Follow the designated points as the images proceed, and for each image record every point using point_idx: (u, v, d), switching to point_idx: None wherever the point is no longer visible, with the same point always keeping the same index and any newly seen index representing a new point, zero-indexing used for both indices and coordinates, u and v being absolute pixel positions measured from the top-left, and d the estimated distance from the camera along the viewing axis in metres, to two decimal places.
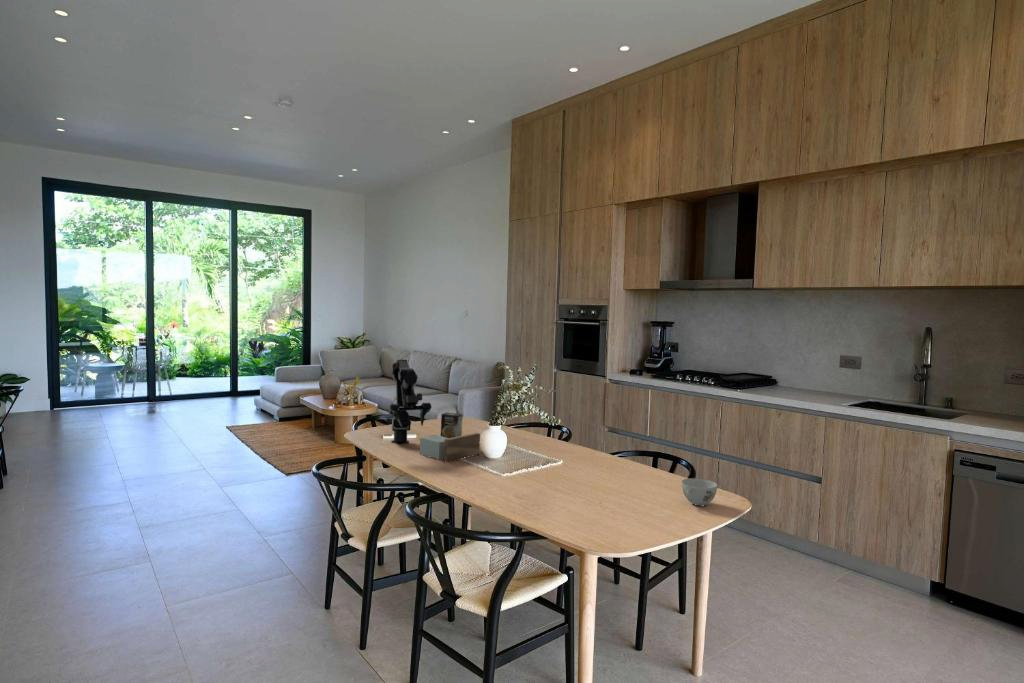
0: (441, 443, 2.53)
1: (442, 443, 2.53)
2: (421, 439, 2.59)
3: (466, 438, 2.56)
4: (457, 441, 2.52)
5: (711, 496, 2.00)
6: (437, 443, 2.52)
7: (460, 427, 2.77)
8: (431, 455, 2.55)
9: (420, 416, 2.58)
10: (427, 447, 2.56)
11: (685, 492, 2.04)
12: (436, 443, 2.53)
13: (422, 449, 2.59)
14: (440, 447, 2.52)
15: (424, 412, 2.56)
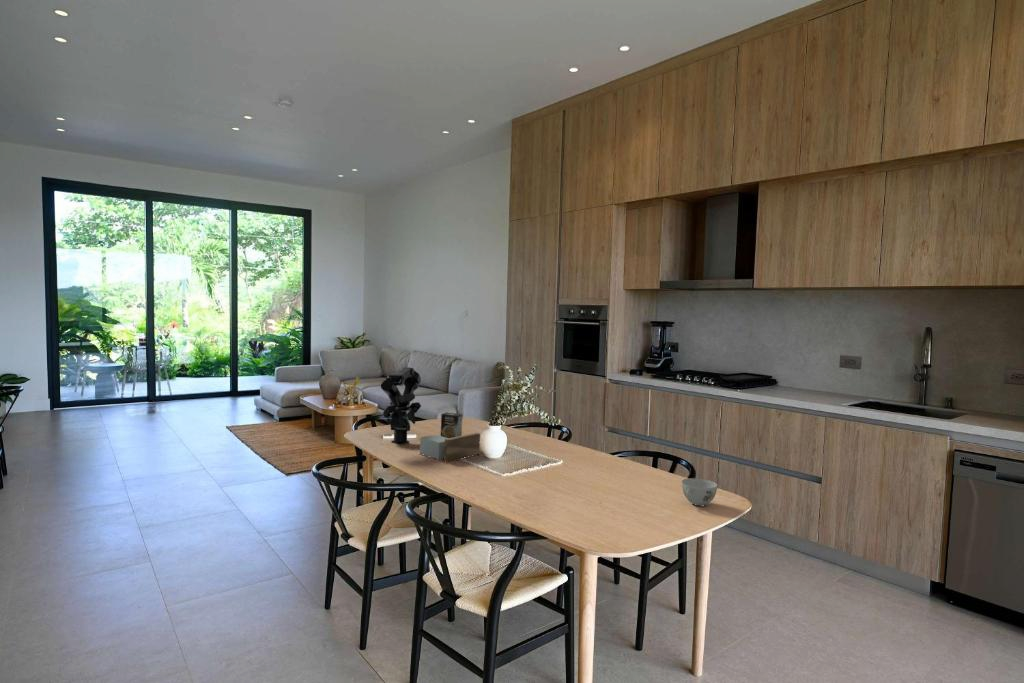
0: (441, 443, 2.53)
1: (442, 443, 2.53)
2: (421, 439, 2.60)
3: (466, 438, 2.56)
4: (457, 441, 2.52)
5: (711, 496, 2.00)
6: (437, 443, 2.52)
7: (460, 427, 2.77)
8: (431, 455, 2.55)
9: (408, 416, 2.66)
10: (427, 447, 2.57)
11: (685, 492, 2.04)
12: (436, 443, 2.53)
13: (422, 449, 2.59)
14: (439, 447, 2.52)
15: (413, 411, 2.65)
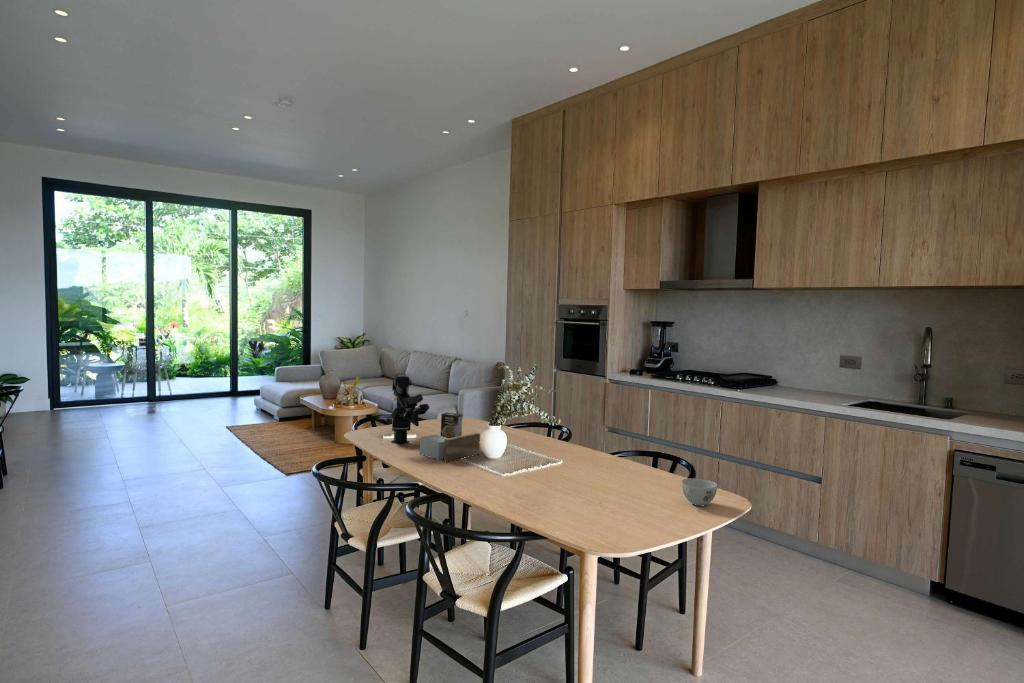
0: (440, 443, 2.52)
1: (441, 443, 2.53)
2: (421, 439, 2.60)
3: (466, 438, 2.56)
4: (457, 441, 2.52)
5: (711, 496, 2.00)
6: (436, 443, 2.52)
7: (460, 427, 2.77)
8: (431, 455, 2.55)
9: None
10: (427, 447, 2.57)
11: (685, 492, 2.04)
12: (435, 443, 2.53)
13: (422, 449, 2.59)
14: (439, 447, 2.52)
15: (417, 413, 2.67)
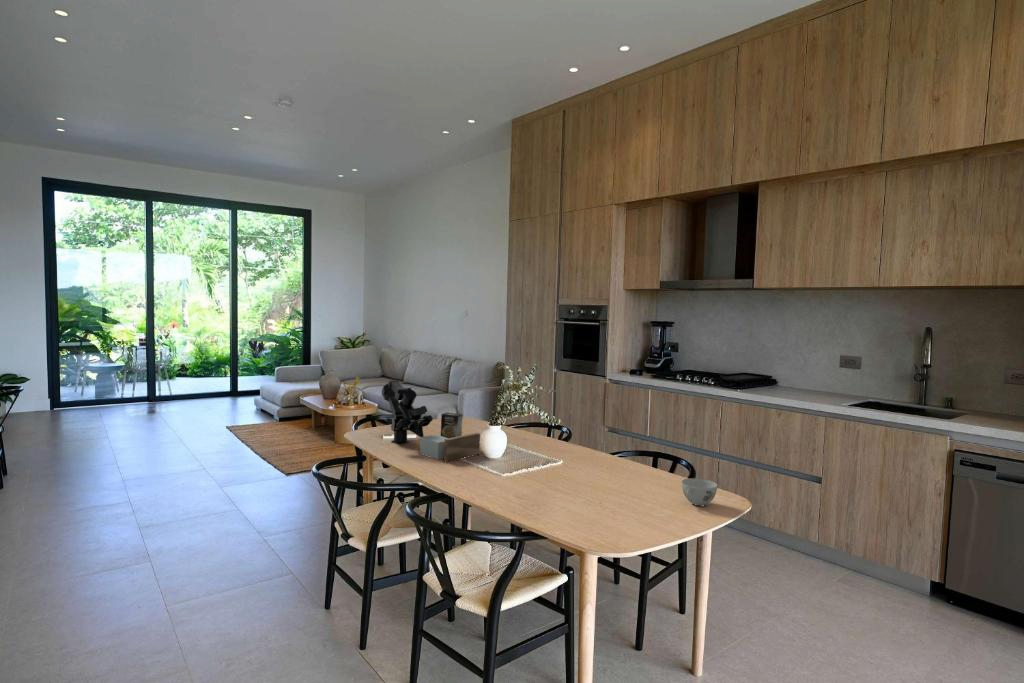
0: (440, 443, 2.52)
1: (441, 443, 2.53)
2: (421, 439, 2.60)
3: (466, 438, 2.56)
4: (457, 441, 2.52)
5: (711, 496, 2.00)
6: (436, 443, 2.52)
7: (460, 427, 2.77)
8: (430, 455, 2.55)
9: None
10: (427, 447, 2.57)
11: (685, 492, 2.04)
12: (435, 443, 2.53)
13: (422, 449, 2.60)
14: (439, 447, 2.52)
15: (421, 425, 2.68)
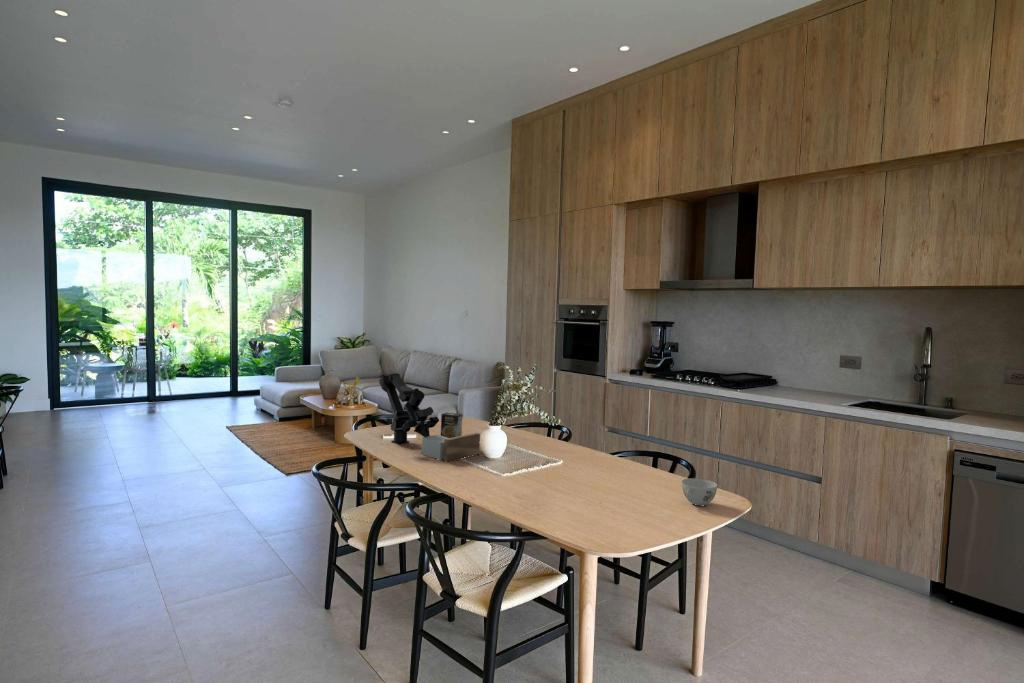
0: (442, 443, 2.52)
1: (443, 443, 2.52)
2: (423, 439, 2.59)
3: (466, 438, 2.56)
4: (457, 441, 2.52)
5: (711, 496, 2.00)
6: (438, 443, 2.51)
7: (460, 427, 2.77)
8: (433, 455, 2.54)
9: None
10: (429, 447, 2.56)
11: (685, 492, 2.04)
12: (437, 443, 2.52)
13: (424, 449, 2.59)
14: (441, 447, 2.51)
15: (428, 426, 2.65)
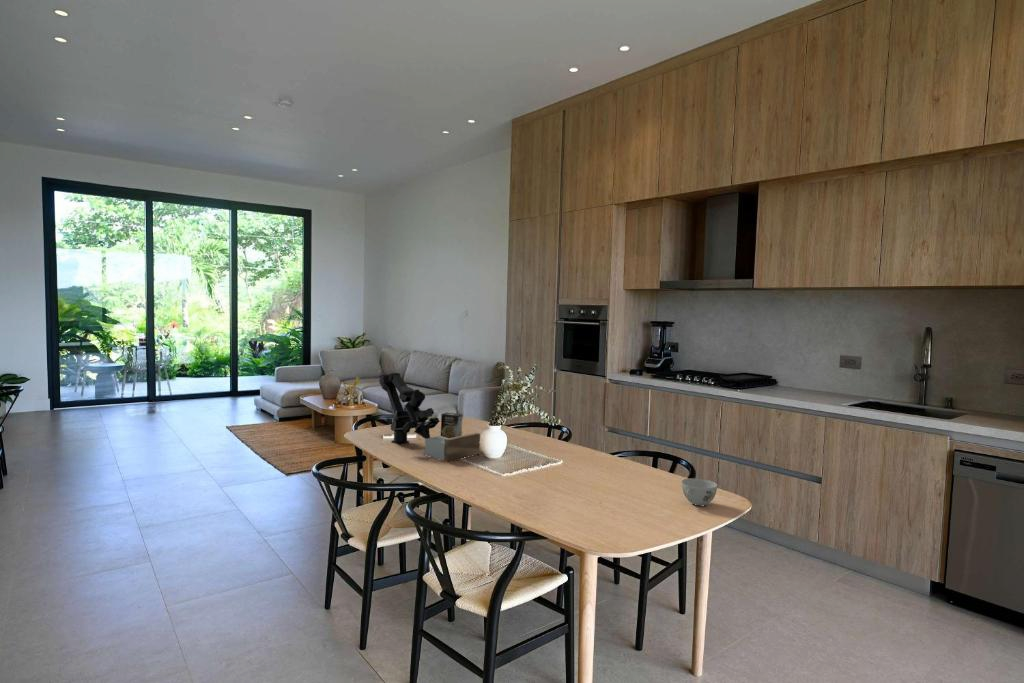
0: None
1: None
2: (426, 440, 2.57)
3: (466, 438, 2.56)
4: (457, 441, 2.52)
5: (711, 496, 2.00)
6: (442, 444, 2.50)
7: (460, 427, 2.77)
8: (436, 456, 2.53)
9: None
10: (433, 448, 2.54)
11: (685, 492, 2.04)
12: (441, 444, 2.50)
13: (427, 450, 2.57)
14: None
15: (428, 427, 2.65)
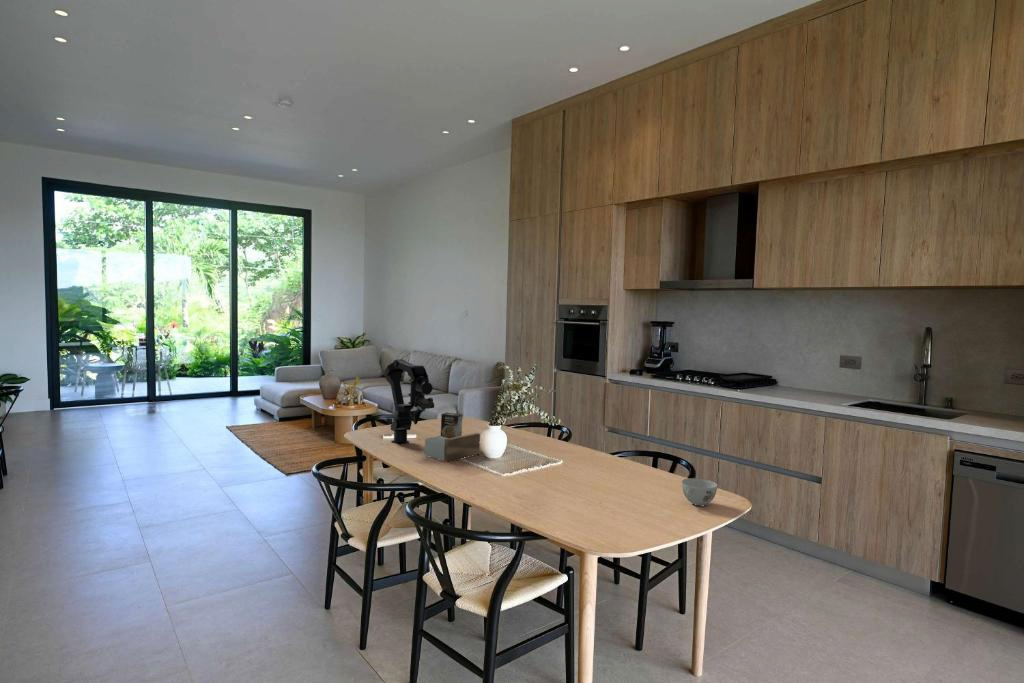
0: None
1: None
2: (426, 440, 2.57)
3: (466, 438, 2.56)
4: (457, 441, 2.52)
5: (711, 496, 2.00)
6: (442, 444, 2.50)
7: (460, 427, 2.77)
8: (436, 457, 2.53)
9: None
10: (433, 448, 2.54)
11: (685, 492, 2.04)
12: (441, 444, 2.50)
13: (427, 450, 2.57)
14: None
15: (420, 412, 2.69)
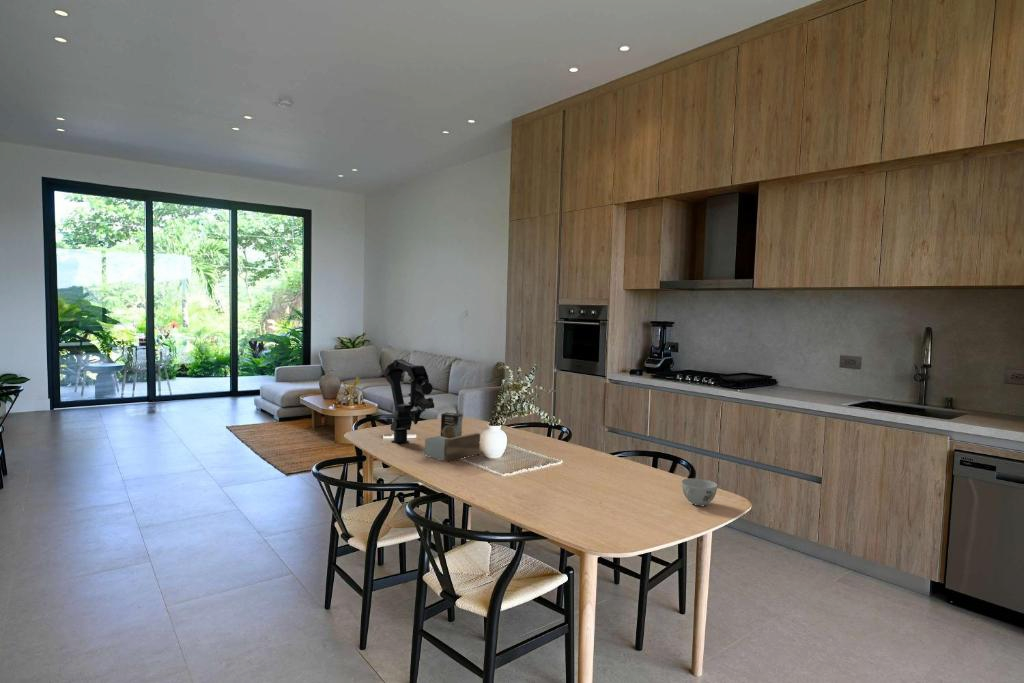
0: None
1: None
2: (426, 440, 2.57)
3: (466, 438, 2.56)
4: (457, 441, 2.52)
5: (711, 496, 2.00)
6: (442, 444, 2.50)
7: (460, 427, 2.77)
8: (436, 457, 2.53)
9: None
10: (433, 448, 2.54)
11: (685, 492, 2.04)
12: (441, 444, 2.50)
13: (427, 450, 2.57)
14: None
15: (420, 412, 2.69)
